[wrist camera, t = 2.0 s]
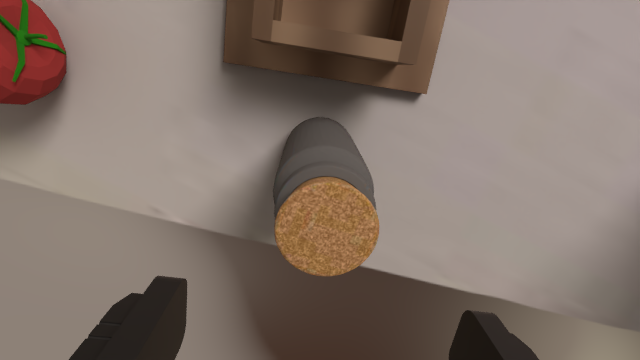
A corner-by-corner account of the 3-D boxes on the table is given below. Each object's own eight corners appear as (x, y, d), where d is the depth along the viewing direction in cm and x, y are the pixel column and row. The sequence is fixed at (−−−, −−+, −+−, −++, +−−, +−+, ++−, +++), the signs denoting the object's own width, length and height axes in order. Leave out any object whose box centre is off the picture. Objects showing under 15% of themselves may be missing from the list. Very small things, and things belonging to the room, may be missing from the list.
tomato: (-157, 65, 18) (-51, 38, 17) (-103, -41, 21) (-7, -73, 19) (5, 130, 26) (89, 116, 24) (30, 46, 28) (107, 28, 27)
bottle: (324, 194, 31) (336, 308, 16) (272, 156, 29) (235, 242, 15) (367, 144, 29) (420, 221, 15) (313, 102, 28) (316, 141, 14)
